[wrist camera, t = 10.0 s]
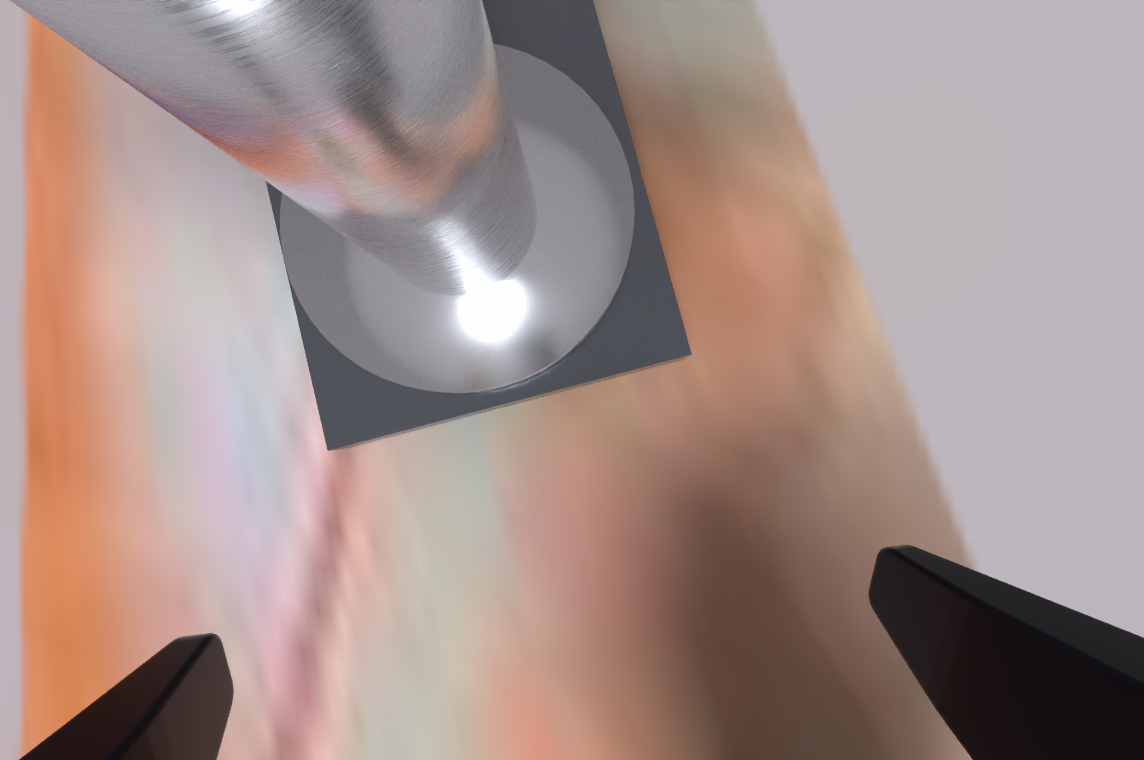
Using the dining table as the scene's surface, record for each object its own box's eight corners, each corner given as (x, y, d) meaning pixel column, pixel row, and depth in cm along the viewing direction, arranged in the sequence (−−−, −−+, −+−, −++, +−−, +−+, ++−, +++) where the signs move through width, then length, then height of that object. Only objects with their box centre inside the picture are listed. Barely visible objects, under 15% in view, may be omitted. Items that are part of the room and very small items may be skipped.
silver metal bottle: (568, 235, 16) (376, -1151, 2) (431, 327, 16) (-844, -340, 2) (479, 105, 17) (-275, -1922, 2) (345, 195, 17) (-1296, -1237, 2)
